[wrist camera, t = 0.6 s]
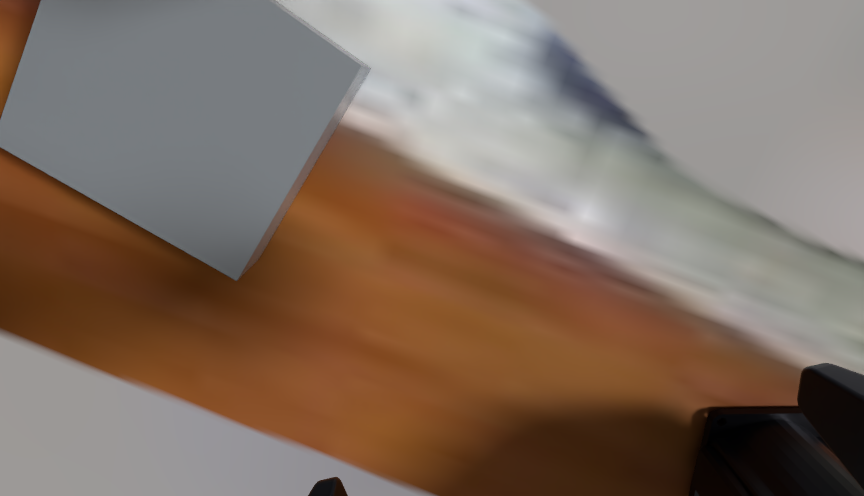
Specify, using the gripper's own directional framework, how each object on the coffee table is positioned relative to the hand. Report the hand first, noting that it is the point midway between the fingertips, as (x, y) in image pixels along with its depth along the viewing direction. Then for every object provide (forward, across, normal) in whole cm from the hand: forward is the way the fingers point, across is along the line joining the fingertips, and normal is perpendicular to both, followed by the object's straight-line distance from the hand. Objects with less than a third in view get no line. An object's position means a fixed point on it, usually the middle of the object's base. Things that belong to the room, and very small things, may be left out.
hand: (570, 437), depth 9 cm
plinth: (+14, +10, -7) cm, 18 cm away
